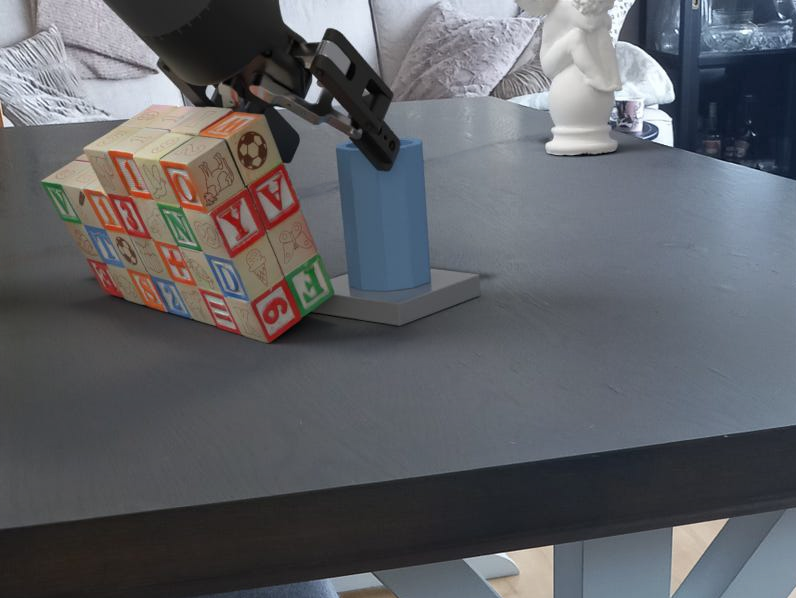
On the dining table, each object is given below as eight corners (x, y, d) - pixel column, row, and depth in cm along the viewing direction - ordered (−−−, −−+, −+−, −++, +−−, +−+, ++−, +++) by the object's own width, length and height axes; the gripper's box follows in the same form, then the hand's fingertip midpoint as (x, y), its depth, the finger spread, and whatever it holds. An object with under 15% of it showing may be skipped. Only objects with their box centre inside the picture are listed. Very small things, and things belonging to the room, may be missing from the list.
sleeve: (332, 286, 84) (317, 147, 79) (386, 268, 88) (375, 136, 83) (394, 294, 81) (382, 151, 76) (447, 276, 85) (439, 139, 80)
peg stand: (300, 310, 84) (285, 180, 80) (383, 282, 90) (374, 160, 86) (399, 326, 79) (389, 189, 75) (480, 295, 86) (475, 167, 81)
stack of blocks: (103, 296, 91) (15, 138, 83) (166, 253, 93) (87, 96, 85) (269, 344, 77) (183, 161, 69) (339, 292, 79) (264, 109, 71)
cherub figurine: (631, 154, 142) (634, -61, 131) (529, 163, 139) (524, -56, 129) (597, 142, 152) (597, -59, 141) (502, 150, 150) (495, -53, 139)
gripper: (298, -95, 61) (449, 108, 75) (113, -83, 69) (281, 100, 82) (241, 33, 61) (404, 216, 74) (60, 32, 68) (239, 198, 82)
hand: (339, 155), depth 78 cm, fingers open, 8 cm apart
